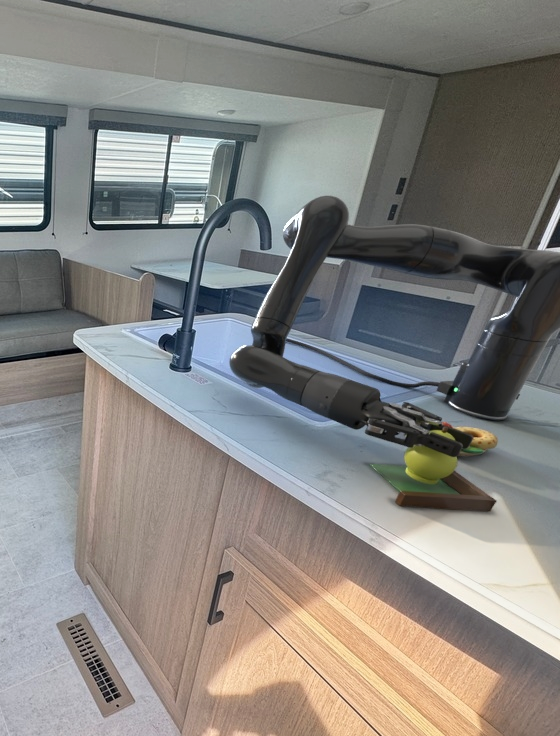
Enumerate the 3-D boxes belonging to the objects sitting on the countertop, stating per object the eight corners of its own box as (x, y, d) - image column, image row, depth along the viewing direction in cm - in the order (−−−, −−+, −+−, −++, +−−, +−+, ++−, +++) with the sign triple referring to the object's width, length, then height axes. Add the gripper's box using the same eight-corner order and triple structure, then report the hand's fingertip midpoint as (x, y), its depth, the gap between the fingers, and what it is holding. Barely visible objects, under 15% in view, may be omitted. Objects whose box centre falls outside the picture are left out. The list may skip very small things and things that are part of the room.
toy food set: (501, 453, 76) (510, 438, 75) (460, 468, 71) (469, 451, 70) (418, 418, 87) (424, 404, 86) (378, 429, 82) (384, 414, 81)
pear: (388, 466, 68) (410, 418, 64) (417, 463, 69) (440, 415, 66) (425, 490, 63) (452, 439, 59) (456, 486, 64) (484, 436, 60)
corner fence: (345, 455, 73) (349, 445, 72) (421, 459, 73) (426, 450, 72) (399, 506, 61) (405, 495, 61) (490, 511, 61) (497, 500, 60)
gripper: (325, 387, 69) (460, 437, 56) (365, 372, 76) (493, 413, 63) (311, 427, 72) (436, 483, 59) (350, 409, 79) (469, 455, 66)
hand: (464, 446), depth 61 cm, fingers closed on pear, 4 cm apart
